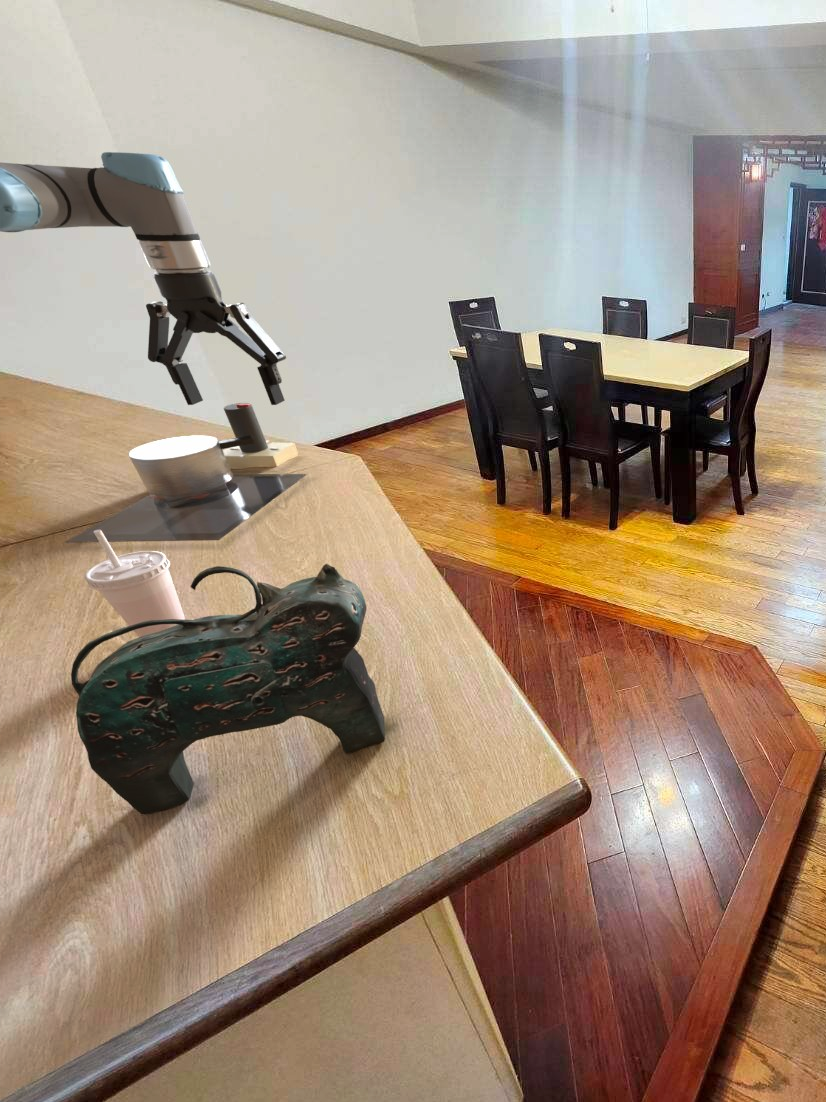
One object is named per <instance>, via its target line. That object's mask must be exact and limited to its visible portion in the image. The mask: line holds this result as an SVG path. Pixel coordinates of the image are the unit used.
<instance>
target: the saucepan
mask: <svg viewBox="0 0 826 1102" xmlns="http://www.w3.org/2000/svg"><path fill="white" fill-rule="evenodd" d="M253 443H254V440H253V438H252V437H251V436H245V437H239V438H236V437H234V438H229V439H223V440H219V439H217V438H216V437H214V436H210V435H183V436H175V437H168V438H163V439H158V440H154V441H151V442H147V443H144V444H142V445H139V446H137V447H135V448H132V449H131V450H130V451H129V453H128V457H129V459H130V461H131V463H132V464H133V466H134V468H135V470H136V472H137V475H138V476H139V478H140V480H141V482H142V483H143V486H144V488H145V489H146V491H147V493H148V494H149V495H150V494H152V495H156V496H164V498H165V500H166V502H170V501H174V500H179V499H183V498H188V497H192V496H197V495H202V494H206V493H211V492H215V491H220V490H225V489H228V488H227V486H226V484H225V483H226V482H228V481H229V480H231V479H232V477H233V474H234V473H233V471H232V469H230V467H229V465H228V462H227V460H226V458H225V455H224V453H223V451H224V450H225V449H227V448H231V447H237V446H242V445H248V444H253Z"/></svg>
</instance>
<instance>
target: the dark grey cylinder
mask: <svg viewBox="0 0 826 1102" xmlns="http://www.w3.org/2000/svg"><path fill="white" fill-rule="evenodd" d="M223 411H224V413H225V415H226V418H227V420H228V423H229V426H230V427H231V430H232V432H233V435H234V438H239V437H245V436H251V437H252V438H253V440H254V443H253V444H248V445H242V446H239V447H240V449H241V451H242V452H246V453H251V452H258V451H262V450H265V449H267V448H268V445H267V443H268V442H267V443H266V441H267V440H266V437H265V435H264V432H263V430H262V429H261V425H260V422H259V420H258V418H257V415H256V412H255V410H254V407H253V405H252V403H249V402H237V403H231V404H228V405H225V406H223Z"/></svg>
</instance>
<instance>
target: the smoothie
mask: <svg viewBox="0 0 826 1102" xmlns="http://www.w3.org/2000/svg"><path fill="white" fill-rule="evenodd" d="M94 534H95V535H96V537H97V539H98V540H99V542H98V543H99V544H100V546H101V548H102V549H103V550H104V552H105V554H106V555H107V557H108V558H107V559H106V560H103V561H101V562H99V563H97V564H96V565H94V566H92V567H90V569H88V570H87V571H86V573H85V574H84V579H85V581H86V582H87V585H88V587H89V588H91V589H92V590H96V591H98V592H99V593H100V595H101V596H102V597H103V598H104V600H106V601H107V603H108V604H110V606H111V607H112V608H113V609H114V611H115V612H116V613H117V614H118V615H119V616H120V617H121V618H122V619H123V620H124V621H125V623H126V624H127V625H128V626H131V625H135V624H138V623H141V622H145V621H150V620H167V619H183V620H186V617H185V614H184V611H183V607H182V605H181V602H180V599H179V596H178V594H177V590H176V588H175V585H174V582H173V579H172V576H171V573H170V570H169V568H170V566H171V562H170V560H169V559H168V558H167V555H166V554H165V553H164V552H161V551H156V550H142V551H135V552H129V553H124V554H121V555H116V553H115V551H114V550H113V548H112V546H111V544H110V542H108V541H107V539H106V538H105V536H104V534H103V533H102V531H101V530H95V531H94ZM176 625H178V624H161V625H153V626H147V627H143V628H139V629H136V630H133V631H132V632H134V633H135V634H136V635H137V637H138V638H139V637H142V636H145V635H149V634H152V633H156V632H160V631H162V630H165V629H168V628H170V627H173V626H176Z"/></svg>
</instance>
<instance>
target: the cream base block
mask: <svg viewBox="0 0 826 1102" xmlns="http://www.w3.org/2000/svg"><path fill="white" fill-rule="evenodd" d="M266 443H267V445H268V448H267V449H265V450H262V451H258V452H251V453H246V452H242V451H241V449H240V447H239V446H237V447H231V448H226V449H223V450H222V451H223V453H224V455H225V458H226V460H227V462H228V465H229V467H230V469H231V470H243V469H247V468H253V467H254V468H257V467H258V468H261V467H264V468H265V467H266V468H268V467H269V468H270V467H275V468H276V467H279V466H280V465H282V464H283V463H285V462H287V461H288V460H292V459H295V458H296V457H298V456H299V452H298V449H297V447H296V443H295V442H270V440H266Z"/></svg>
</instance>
